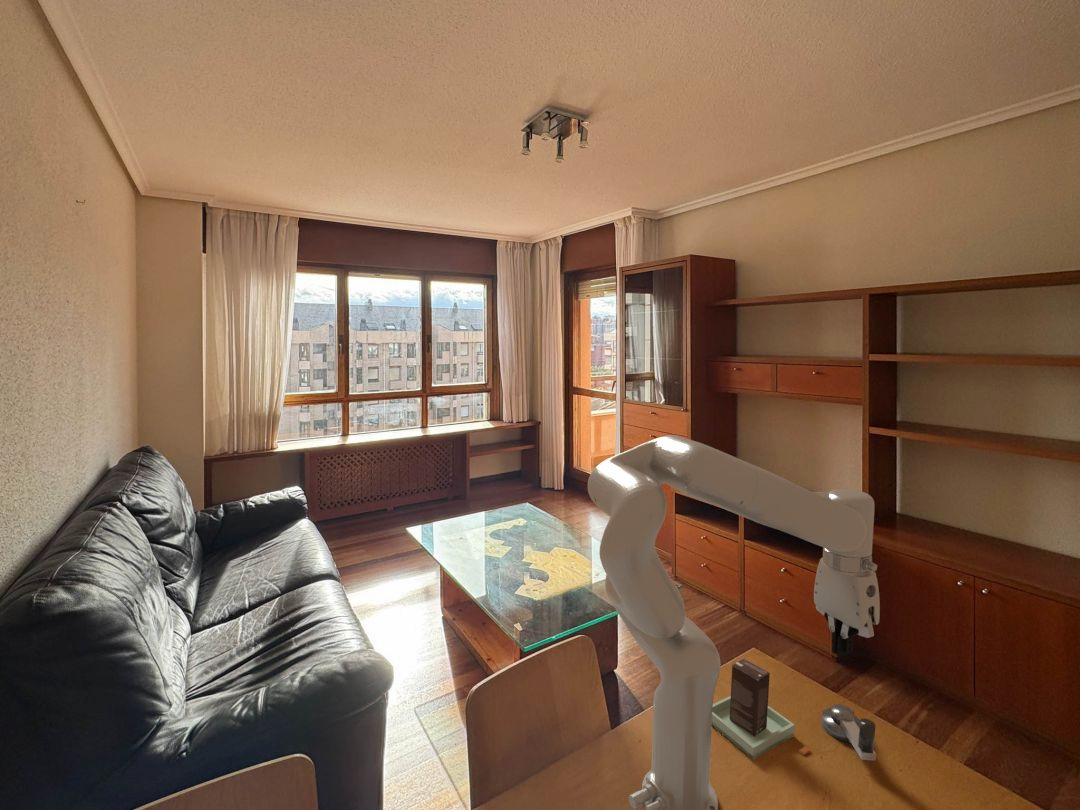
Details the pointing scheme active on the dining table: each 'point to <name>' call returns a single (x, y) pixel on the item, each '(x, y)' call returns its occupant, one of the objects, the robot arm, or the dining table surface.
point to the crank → (856, 731)
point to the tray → (745, 741)
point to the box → (749, 696)
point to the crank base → (831, 729)
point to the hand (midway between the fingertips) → (841, 652)
